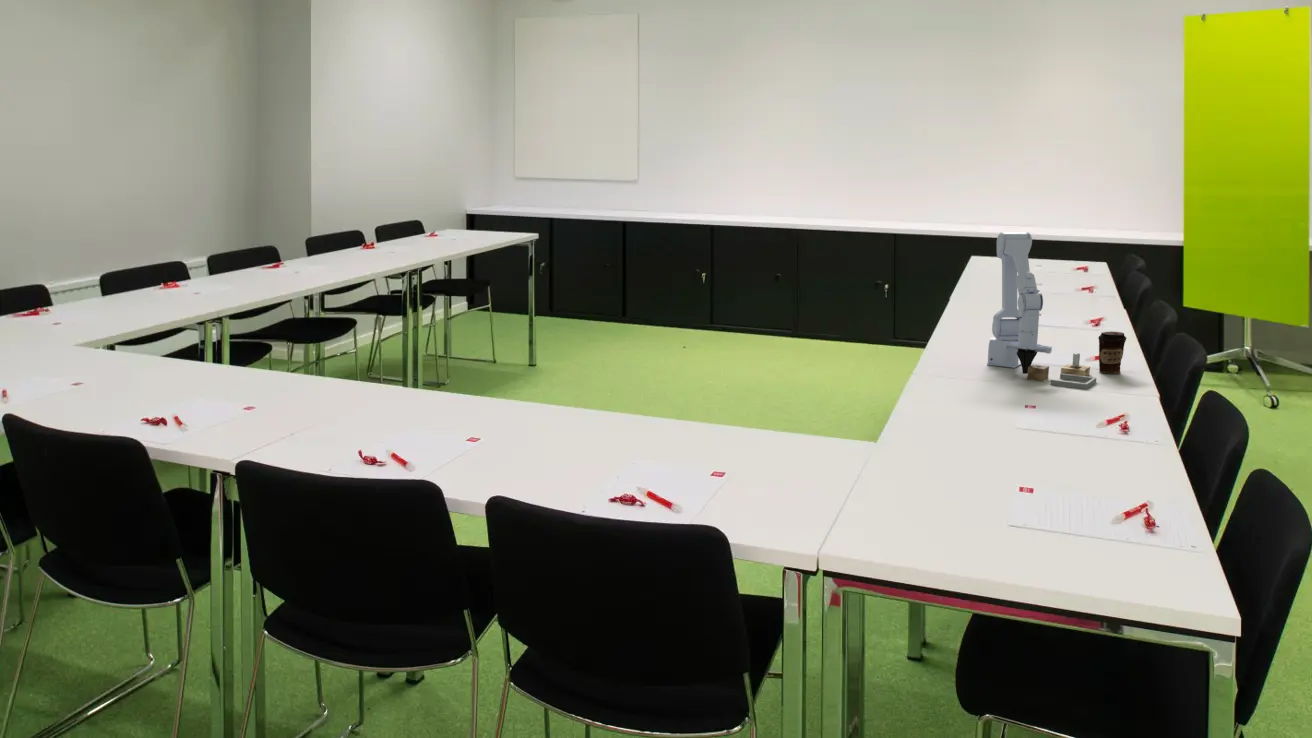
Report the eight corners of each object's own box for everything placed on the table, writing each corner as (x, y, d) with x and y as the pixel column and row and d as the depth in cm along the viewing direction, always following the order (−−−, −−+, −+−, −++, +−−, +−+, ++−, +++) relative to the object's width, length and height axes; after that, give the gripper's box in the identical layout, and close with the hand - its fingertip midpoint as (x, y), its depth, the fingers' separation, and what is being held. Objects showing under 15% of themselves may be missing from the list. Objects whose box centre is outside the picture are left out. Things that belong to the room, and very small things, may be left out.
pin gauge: (1071, 375, 348) (1072, 353, 346) (1072, 374, 350) (1074, 352, 348) (1077, 376, 347) (1079, 354, 345) (1079, 374, 348) (1080, 353, 347)
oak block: (1060, 375, 348) (1061, 367, 347) (1067, 371, 353) (1067, 363, 352) (1083, 378, 343) (1083, 370, 343) (1089, 374, 349) (1090, 366, 348)
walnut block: (1027, 379, 343) (1027, 366, 342) (1032, 376, 347) (1033, 363, 346) (1043, 381, 340) (1044, 368, 339) (1048, 378, 344) (1049, 365, 343)
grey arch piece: (1050, 384, 336) (1050, 379, 336) (1060, 378, 344) (1061, 373, 344) (1086, 389, 330) (1086, 384, 329) (1096, 382, 338) (1096, 377, 338)
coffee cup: (1126, 376, 346) (1129, 335, 344) (1098, 375, 348) (1101, 335, 345) (1120, 370, 355) (1123, 330, 352) (1093, 369, 356) (1096, 330, 354)
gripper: (1001, 330, 344) (998, 372, 346) (1047, 335, 335) (1044, 378, 338) (1008, 327, 349) (1006, 368, 352) (1054, 331, 341) (1051, 374, 344)
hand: (1025, 373), depth 345 cm, fingers closed
